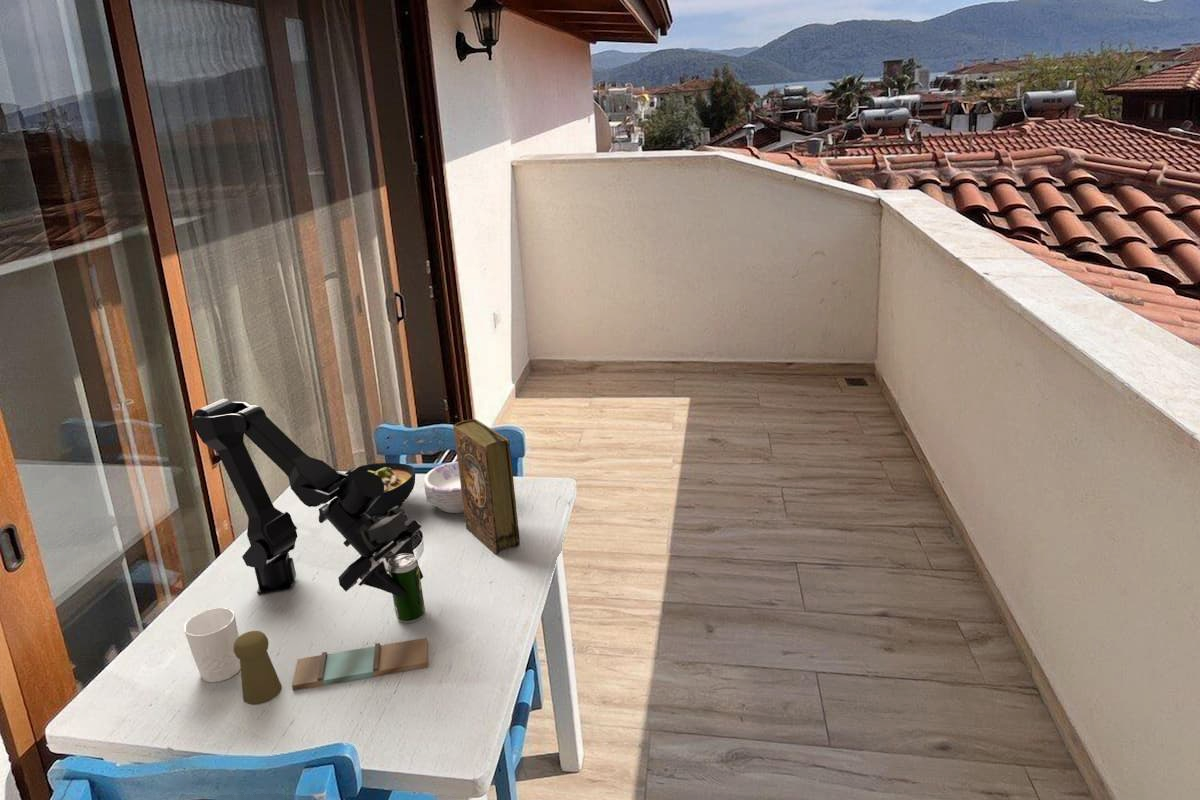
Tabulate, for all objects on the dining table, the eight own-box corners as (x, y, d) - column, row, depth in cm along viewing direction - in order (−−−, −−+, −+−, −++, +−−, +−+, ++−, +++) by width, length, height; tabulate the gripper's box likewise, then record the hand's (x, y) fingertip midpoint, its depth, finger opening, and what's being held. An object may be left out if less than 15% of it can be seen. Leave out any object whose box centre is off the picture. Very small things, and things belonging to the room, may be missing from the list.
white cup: (215, 691, 136) (202, 641, 133) (187, 676, 140) (173, 627, 137) (256, 663, 142) (244, 615, 139) (228, 650, 146) (216, 602, 143)
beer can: (402, 628, 150) (393, 571, 145) (392, 614, 154) (382, 559, 150) (430, 617, 152) (421, 561, 148) (419, 603, 157) (410, 549, 152)
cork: (244, 709, 131) (230, 653, 128) (241, 687, 137) (227, 632, 133) (284, 696, 134) (271, 640, 130) (279, 675, 139) (266, 621, 135)
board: (293, 690, 135) (291, 683, 135) (298, 663, 142) (297, 656, 141) (427, 667, 139) (426, 659, 138) (427, 642, 145) (426, 635, 145)
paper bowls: (435, 525, 185) (431, 494, 183) (421, 498, 199) (417, 469, 196) (500, 510, 191) (496, 479, 188) (482, 484, 204) (478, 455, 201)
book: (463, 526, 184) (450, 424, 175) (485, 519, 187) (473, 417, 178) (497, 556, 171) (485, 447, 162) (520, 548, 174) (509, 440, 165)
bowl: (410, 525, 186) (404, 486, 183) (336, 528, 187) (328, 489, 183) (426, 491, 202) (421, 454, 199) (357, 494, 203) (351, 457, 199)
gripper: (340, 526, 139) (403, 593, 138) (406, 479, 154) (462, 540, 154) (312, 558, 144) (372, 623, 144) (378, 510, 160) (433, 568, 160)
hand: (412, 587), depth 150 cm, fingers closed on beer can, 5 cm apart
